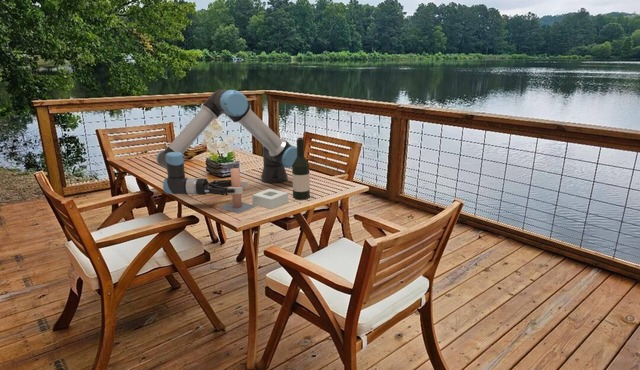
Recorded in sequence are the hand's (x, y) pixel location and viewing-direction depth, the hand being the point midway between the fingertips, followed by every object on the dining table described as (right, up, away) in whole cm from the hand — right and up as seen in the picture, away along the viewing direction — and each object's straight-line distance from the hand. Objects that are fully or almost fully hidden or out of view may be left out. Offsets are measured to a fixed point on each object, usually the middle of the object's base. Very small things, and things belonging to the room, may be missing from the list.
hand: (245, 187), depth 192 cm
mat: (-4, -10, +3) cm, 11 cm away
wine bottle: (+25, -5, +17) cm, 31 cm away
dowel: (-4, -9, +3) cm, 11 cm away
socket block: (+11, -8, +8) cm, 16 cm away
